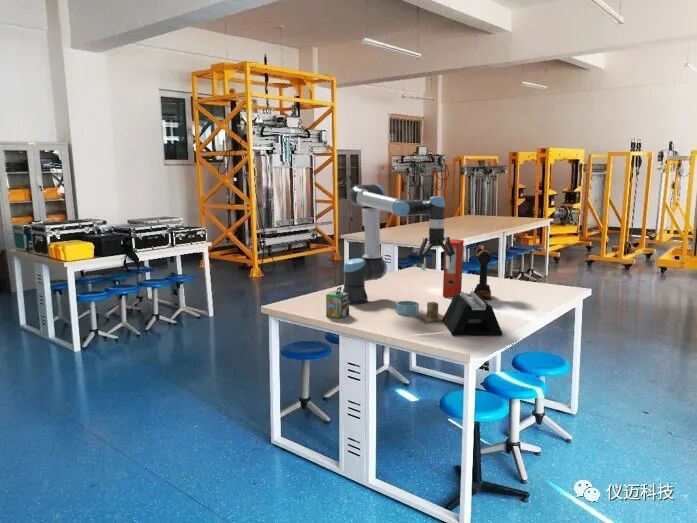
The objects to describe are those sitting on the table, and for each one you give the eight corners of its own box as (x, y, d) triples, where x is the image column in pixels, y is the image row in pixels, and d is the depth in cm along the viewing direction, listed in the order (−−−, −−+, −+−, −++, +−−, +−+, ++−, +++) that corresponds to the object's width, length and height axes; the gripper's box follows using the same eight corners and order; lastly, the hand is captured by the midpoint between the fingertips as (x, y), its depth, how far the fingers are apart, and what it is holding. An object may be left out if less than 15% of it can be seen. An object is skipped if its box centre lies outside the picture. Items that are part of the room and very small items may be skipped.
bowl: (401, 317, 283) (401, 306, 282) (393, 312, 293) (393, 301, 292) (421, 315, 286) (421, 305, 285) (412, 310, 296) (412, 300, 296)
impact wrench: (470, 299, 322) (472, 251, 317) (472, 292, 342) (474, 246, 337) (495, 301, 318) (497, 252, 314) (495, 293, 338) (497, 247, 334)
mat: (425, 325, 268) (425, 324, 268) (412, 317, 282) (412, 316, 282) (453, 322, 273) (453, 321, 273) (439, 315, 287) (439, 314, 287)
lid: (426, 322, 270) (427, 306, 269) (416, 316, 281) (416, 301, 280) (449, 321, 274) (449, 304, 272) (437, 315, 285) (438, 299, 284)
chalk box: (333, 312, 292) (333, 284, 289) (349, 314, 288) (350, 286, 285) (325, 316, 284) (325, 287, 281) (341, 318, 280) (341, 289, 277)
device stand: (488, 321, 273) (490, 291, 270) (502, 336, 251) (504, 303, 248) (442, 321, 272) (443, 291, 270) (452, 336, 250) (453, 303, 248)
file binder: (461, 292, 341) (463, 239, 336) (456, 298, 325) (458, 243, 320) (448, 291, 344) (450, 239, 339) (442, 297, 328) (444, 242, 323)
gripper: (417, 229, 276) (416, 272, 279) (462, 227, 284) (461, 269, 287) (410, 227, 283) (410, 269, 286) (454, 226, 291) (453, 266, 294)
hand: (435, 269), depth 286 cm, fingers open, 13 cm apart
